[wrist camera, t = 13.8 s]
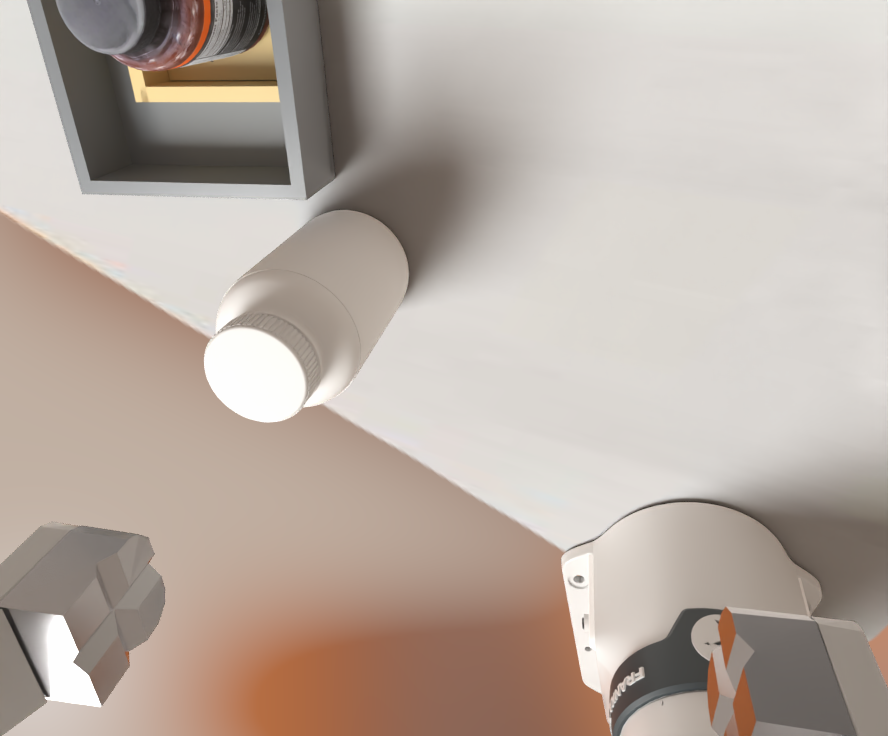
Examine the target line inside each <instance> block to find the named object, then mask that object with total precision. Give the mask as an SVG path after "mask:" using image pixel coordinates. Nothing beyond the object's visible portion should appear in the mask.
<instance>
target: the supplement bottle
mask: <svg viewBox="0 0 888 736" xmlns="http://www.w3.org/2000/svg"><path fill="white" fill-rule="evenodd" d="M56 4H57V7H58V10H59V12H60V15H61V17H62V18H63V20H64V22H65V24H66V25H67V27H68V29H69V30H70V31H71V32H72V34H73V35H74V36H75V37H76V38H77V39H78V40H79V41H80V42H82V43H83V44H84V45H86V46H87V47H89V48H90V49H92V50H94V51H96V52H99V53H103V54H108V55H111V56H112V57H113V58H115V59H116V60H118V61H119V62H121V63H122V64H125V65H127V66H129V67H131V68H135V69H137V70H143V71H165V70H169V69H175V68H182V67H186V66H190V65H195V64H199V63H204V62H208V61H211V62H213V60H217V59H223V58H226V57H231V56H234V55H237V54H241V53H243V52H245V51H248V50H249V49H251V48H253V47H254V46H255V45H256V44H257V43H258V42H259V41H260V40H261V38H262V37H263V35H264V34H265V32H266V30H267V27H268V25H269V17H268V10H267V2H266V0H56Z"/></svg>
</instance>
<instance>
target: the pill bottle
mask: <svg viewBox="0 0 888 736" xmlns="http://www.w3.org/2000/svg"><path fill="white" fill-rule="evenodd" d="M408 281H409V268H408V262H407V258H406V255H405V252H404V250H403V247H402V246H401V244H400V242H399V240H398V239H397V238H396V236H395V235H394V234H393V233H392V231H391V230H390V229H389V228H388V227H386V226H385V225H384V224H383V223H381V222H380V221H379V220H377V219H375V218H373V217H371V216H369V215H367V214H364V213H361V212H358V211H352V210H335V211H330V212H327V213H324V214H322V215H319V216H317V217H315V218H314V219H312V220H310V221H309V222H308V223H306V224H305V225H304V226H303V227H302V228H300V229H299V230H298V231H297V232H295V233H294V234H293V235H292V236H291V237H289V238H288V239H287V240H286V241H284V242H283V243H282V244H281V245H279V246H278V247H277V248H276V249H275V250H273V251H272V252H271V253H270V254H268V255H267V256H266V257H265V258H264V259H262V260H261V261H260V262H259V263H257V264H256V265H255V266H254V267H253V268H251V269H250V270H249V271H248V272H246V273H245V274H244V275H243V276H242V277H240V278H239V279H238V280H237V281H236V282H235V283H234V284H233V285H232V286H231V287H230V288H229V289H228V291H227V292H226V294H225V295H224V297H223V299H222V302H221V304H220V307H219V310H218V313H217V318H216V334H215V335H214V336H213V337H212V338H211V339H210V342H209V343H208V346H207V347H206V351H205V355H204V367H205V373H206V376H207V379H208V382H209V384H210V386H211V388H212V390H213V391H214V392H215V394H216V395H217V397H218V398H219V399H220V400H221V401H222V402H223V403H224V404H225V405H226V406H228V408H230V409H231V410H233V411H234V412H236V413H238V414H239V415H241V416H243V417H246V418H248V419H251V420H255V421H260V422H278V421H282V420H284V419H288V418H290V417H292V416H293V415H295V414H296V413H298V412H299V411H300V410H301V409H302V408H303V407H309V406H315V405H319V404H322V403H324V402H327V401H329V400H331V399H333V398H334V397H336V396H338V395H339V394H341V393H342V392H343V391H344V390H345V389H346V388H347V387H348V386H349V385H350V384H351V383H352V381H353V380H354V378H355V377H356V375H357V374H358V372H359V371H360V369H361V367H362V366H363V364H364V362H365V361H366V359H367V358H368V356H369V354H370V353H371V351H372V350H373V348H374V346H375V345H376V343H377V342H378V340H379V338H380V337H381V335H382V333H383V332H384V330H385V329H386V327H387V325H388V324H389V322H390V321H391V319H392V317H393V316H394V314H395V312H396V311H397V309H398V308H399V306H400V304H401V303H402V301H403V299H404V296H405V293H406V290H407V286H408Z"/></svg>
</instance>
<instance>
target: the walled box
mask: <svg viewBox="0 0 888 736" xmlns="http://www.w3.org/2000/svg"><path fill="white" fill-rule="evenodd" d="M266 2H267V10H268V17H269V25H268V27H267V30H266V32H265V34H264V35H263V37H262V38H261V40H260V41H259V42H258V43H257V44H256V45H255V46H254V47H253V48H251V49H249V50H248V51H245V52H243V53H241V54H237V55H234V56H231V57H226V58H223V59H217V60H213V62H211V61H208V62H204V63H199V64H195V65H190V66H186V67H182V68H175V69H169V70H165V71H143V70H137V69H135V68H131V67H129V66H127V65H125V64H122V63H121V62H119V61H118V60H116V59H115V58H113V57H112V56H111V55H108V54H103V53H99V52H96V51H94V50H92V49H90V48H89V47H87V46H86V45H84V44H83V43H82V42H80V41H79V40H78V39H77V38H76V37H75V36H74V35H73V34H72V32H71V31H70V30H69V29H68V27H67V25H66V24H65V22H64V20H63V18H62V17H61V15H60V12H59V10H58V7H57V4H56V0H27V3H28V6H29V10H30V13H31V17H32V20H33V24H34V27H35V31H36V34H37V38H38V41H39V45H40V48H41V52H42V55H43V59H44V62H45V65H46V69H47V72H48V76H49V79H50V83H51V86H52V90H53V93H54V97H55V100H56V104H57V107H58V111H59V114H60V118H61V121H62V125H63V128H64V132H65V135H66V139H67V142H68V146H69V149H70V153H71V156H72V160H73V163H74V167H75V170H76V174H77V177H78V181H79V184H80V188H81V191H82V194H99V195H137V196H175V197H212V198H250V199H288V200H307V199H309V198H310V197H311V196H313V195H314V194H315V193H317V192H318V191H319V190H321V189H322V188H323V187H324V186H326V185H327V184H328V183H330V182H331V181H332V180H334V179H335V168H334V158H333V149H332V139H331V129H330V119H329V110H328V100H327V90H326V80H325V70H324V61H323V51H322V41H321V31H320V22H319V12H318V2H317V0H266Z"/></svg>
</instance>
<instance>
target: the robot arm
mask: <svg viewBox="0 0 888 736" xmlns="http://www.w3.org/2000/svg"><path fill="white" fill-rule="evenodd" d="M153 556H154V551H153V548H152V546H151V543H150V540H149V538H148V537H145V536H143V535H139V534H133V533H127V532H120V531H113V530H107V529H101V528H94V527H88V526H78V525H71V524H64V523H58V522H51V523H48V524H46V525H43V526H40V527H39V528H38V529H37V530H36V531H35V532H34V533H33V534H32V535H31V536H30V537H29V538H28V539H27V540H26V541H25V542H24V543H22V544H21V545H20V546H19V547H18V548H17V549H16V550H15V551H14V552H13V553H12V554H11V555H10V556H9V557H8V558H7V559H6V560H5V561H4V562H3V563H1V564H0V736H2V735H3V734H5V733H6V732H7V731H9V730H10V729H12V728H13V727H14V726H16V725H17V724H18V723H20V722H21V721H23V720H24V719H25V718H27V717H28V716H29V715H31V714H32V713H33V712H35V711H36V710H38V709H39V708H40V707H42V706H43V705H44V704H46V703H47V700H46V699H50V700H58V701H65V702H71V703H79V704H86V705H93V706H99V707H101V706H102V705H103V704H104V702H105V701H106V699H107V698H108V696H109V695H110V694H111V692H112V691H113V689H114V688H115V686H116V685H117V683H118V682H119V681H120V679H121V678H122V676H123V675H124V673H125V672H126V670H127V669H128V668H129V666H130V662H129V651H130V650H132V649H134V648H135V647H137V646H139V645H140V644H142V643H143V642H145V641H146V640H148V638H149V637H150V635H151V634H152V632H153V631H154V629H155V628H156V626H157V625H158V623H159V620H160V617H161V614H162V611H163V607H164V605H165V587H164V583H163V580H162V576H161V575H160V574H159V573H158V572H157V571H156V570H155V569H154V568H153V567H152V566H151V565H150V564H149V562H150V561H151V559H152V557H153ZM561 564H562V572H563V578H564V582H565V588H566V594H567V599H568V605H569V610H570V615H571V621H572V626H573V632H574V637H575V642H576V648H577V653H578V659H579V664H580V669H581V675H582V679H583V682H584V683H585V684H586V685H587V686H588V687H590V688H592V689H593V690H595V691H597V692H599V693H601V694H602V695H603V701H604V707H605V713H606V718H607V721H608V723H609V724H610V732H611V735H612V736H888V688H887V685H886V683H885V680H884V678H883V676H882V674H881V671H880V669H879V667H878V664H877V662H876V660H875V657H874V655H873V653H872V650H871V648H870V646H869V643H868V641H867V639H866V636H865V634H864V632H863V630H862V628H861V627H860V626H859V625H858V624H857V623H856V622H855V621H847V620H839V619H830V618H822V617H813V616H811V615H812V613H813V612H814V610H815V609H816V607H817V606H818V604H819V603H820V601H821V599H822V591H821V587H820V583H819V582H818V580H817V579H816V578H815V577H814V576H812V575H811V574H810V573H808V572H807V571H805V570H804V569H802V568H801V567H799V566H797V565H796V564H794V563H793V562H792V561H791V559H790V558H789V557H788V555H787V554H786V552H785V550H784V548H783V547H782V545H781V543H780V542H779V541H778V539H777V538H776V537H775V536H774V535H773V534H772V533H771V532H770V531H769V530H768V529H767V528H766V527H765V526H763V525H762V524H761V523H759V522H758V521H756V520H754V519H753V518H751V517H749V516H747V515H745V514H743V513H741V512H738V511H735V510H733V509H730V508H726V507H723V506H718V505H713V504H707V503H697V502H678V503H668V504H662V505H657V506H653V507H649V508H646V509H643V510H640V511H638V512H635V513H633V514H631V515H629V516H627V517H625V518H623V519H622V520H620V521H619V522H617V523H616V524H615V525H613V526H612V527H611V528H610V529H609V530H607V531H606V532H605V533H604V534H603V535H602V536H600V537H599V538H598V539H596V540H595V541H593V542H590V543H587V544H584V545H581V546H578V547H576V548H573V549H571V550H569V551H567V552H566V553H565V554H564V555H563V556H562V559H561ZM576 575H580V576H576Z"/></svg>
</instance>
